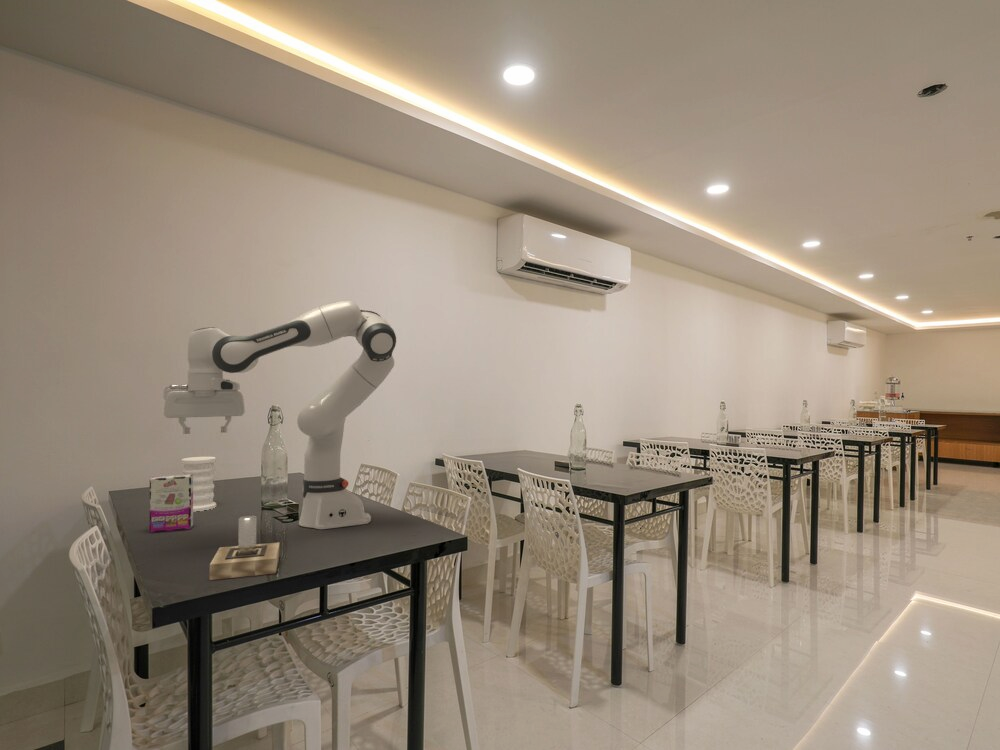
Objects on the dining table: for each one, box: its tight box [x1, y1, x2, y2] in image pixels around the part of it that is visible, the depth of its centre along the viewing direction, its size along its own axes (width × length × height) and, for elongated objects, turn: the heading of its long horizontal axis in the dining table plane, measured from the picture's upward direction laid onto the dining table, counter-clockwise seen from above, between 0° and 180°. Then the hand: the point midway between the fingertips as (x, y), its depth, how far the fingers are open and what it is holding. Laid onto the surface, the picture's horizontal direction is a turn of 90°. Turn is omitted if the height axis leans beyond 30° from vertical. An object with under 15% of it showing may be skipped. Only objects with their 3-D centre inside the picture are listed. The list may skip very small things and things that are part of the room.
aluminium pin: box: [237, 515, 258, 556], centre depth 134 cm, size 4×4×12 cm
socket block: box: [209, 542, 281, 581], centre depth 134 cm, size 14×14×4 cm
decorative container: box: [181, 456, 217, 513], centre depth 198 cm, size 12×12×18 cm
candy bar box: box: [148, 474, 194, 534], centre depth 169 cm, size 11×5×16 cm, turn 112°
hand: (205, 433), depth 156 cm, fingers open, 8 cm apart
